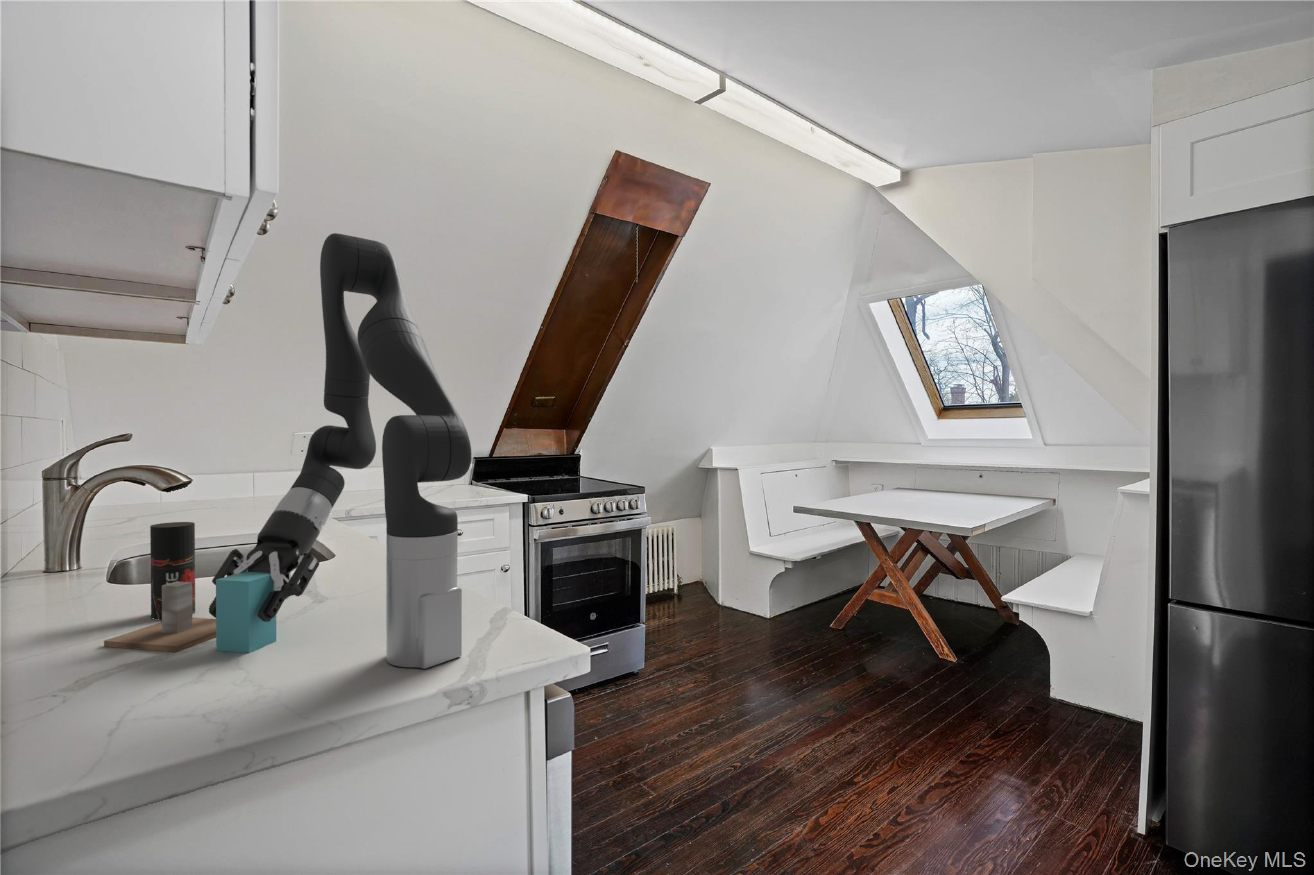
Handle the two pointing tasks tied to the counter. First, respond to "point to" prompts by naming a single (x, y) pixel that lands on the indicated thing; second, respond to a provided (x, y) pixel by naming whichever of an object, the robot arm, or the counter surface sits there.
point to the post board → (165, 638)
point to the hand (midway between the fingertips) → (238, 617)
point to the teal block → (243, 612)
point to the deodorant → (171, 560)
